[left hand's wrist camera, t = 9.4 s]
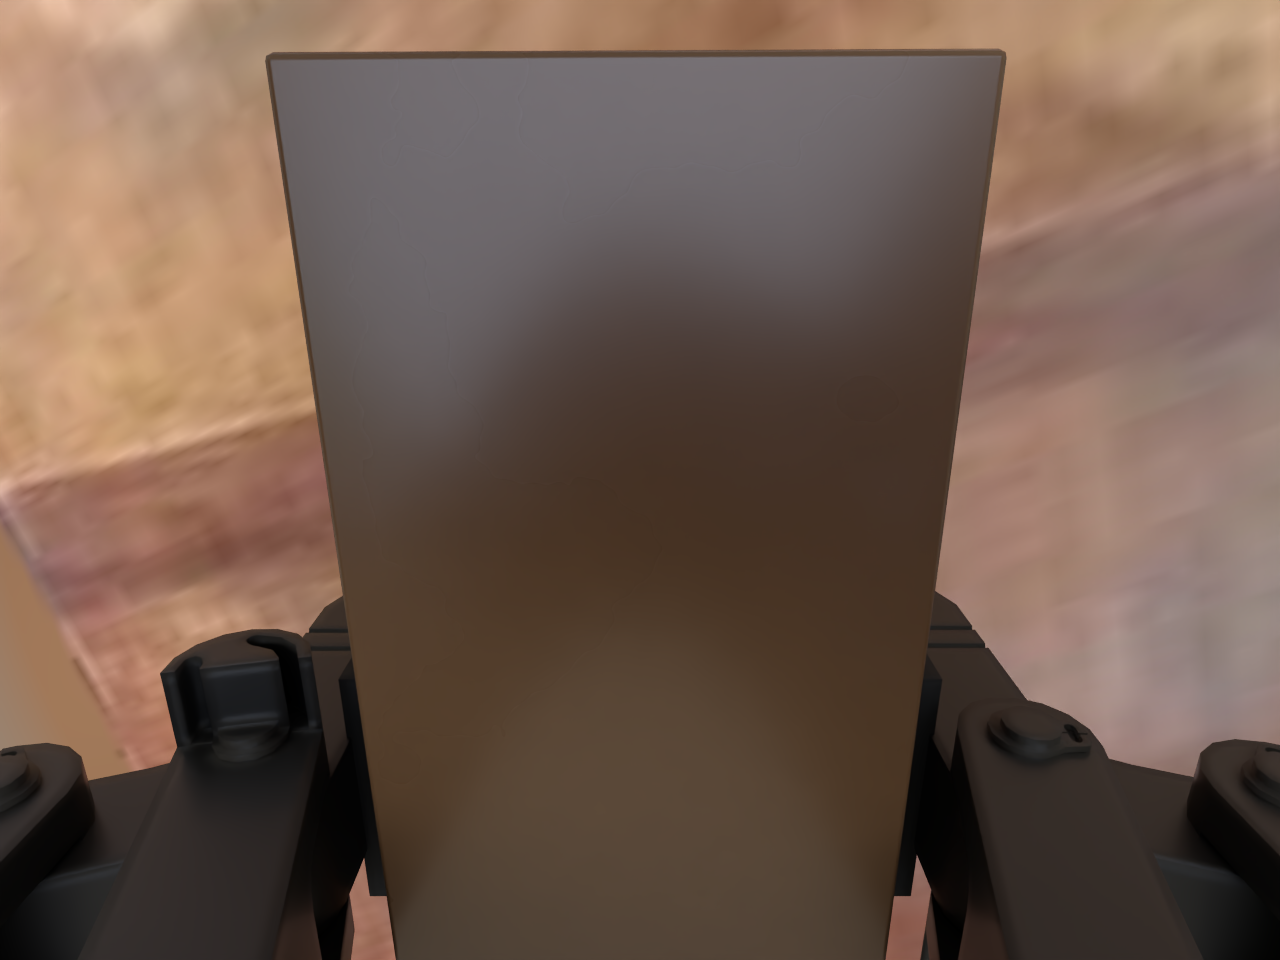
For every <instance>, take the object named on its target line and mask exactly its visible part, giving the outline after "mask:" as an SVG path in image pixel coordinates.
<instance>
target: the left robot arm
mask: <svg viewBox="0 0 1280 960" xmlns="http://www.w3.org/2000/svg"><path fill="white" fill-rule="evenodd" d="M160 675H161V679H162V683H163V688H164V692H165V696H166V701H167V705H168V709H169V714H170V718H171V722H172V726H173V731H174V735H175V739H176V744H177V749H176V751H175V753H174V755H173V758H172V760H171V762H170V763H168V764H164V765H160V766H156V767H153V768H149V769H144V770H139V771H134V772H129V773H124V774H119V775H114V776H109V777H104V778H99V779H94V780H89V781H88V779H87V775H86V772H85V768H84V764H83V761H82V757H81V756H80V755H79V754H77V753H76V752H75V751H74V750H73V749H71V748H70V747H68V746H62V745H56V744H50V743H42V744H32V745H22V746H14V747H9V748H5V749H2V750H1V751H0V960H351V954H352V946H353V937H354V922H353V915H352V908H351V902H350V895H349V893H350V891H351V889H352V886H353V884H354V881H355V879H356V876H357V874H358V871H359V869H360V866H361V864H362V861H363V859H365V866H366V872H367V879H368V886H369V893H370V896H387V894H386V888H385V881H384V874H383V867H382V860H381V853H380V846H379V839H378V832H377V826H376V819H375V812H374V805H373V798H372V791H371V784H370V777H369V771H368V764H367V757H366V750H365V743H364V736H363V729H362V722H361V716H360V709H359V702H358V695H357V688H356V681H355V674H354V667H353V660H352V654H351V647H350V640H349V633H348V626H347V619H346V612H345V605H344V599H343V596H342V597H340V598H339V599H337V600H336V601H334V602H332V603H331V604H329V605H328V606H326V607H325V608H324V609H323V611H322V612H321V613H320V615H319V616H318V617H317V619H316V620H315V621H314V623H313V624H312V626H311V627H310V628H309V633H306V634H305V635H304V636H303V638H302V637H301V636H300V635H299V634H296V633H292V632H288V631H283V630H279V629H252V630H247V631H241V632H236V633H231V634H226V635H222V636H219V637H217V638H214V639H211V640H208V641H206V642H203V643H200V644H197V645H195V646H194V647H192V648H190V649H189V650H187V651H185V652H184V653H182V654H180V655H179V656H177V657H175V658H174V659H173V660H172V661H171V662H170V663H169V664H168V665H167V666H166V668H165V669H164V670H163V671H162V672H161V673H160ZM916 856H918V858H919V861H920V863H921V865H922V868H923V870H924V873H925V875H926V878H927V880H928V883H929V885H930V888H931V895H930V902H929V908H928V914H927V921H926V927H925V933H924V940H923V946H922V952H921V959H920V960H1280V745H1276V744H1271V743H1267V742H1257V741H1247V740H1237V739H1234V740H1228V741H1222V742H1215V743H1212V744H1211V745H1210V746H1208V747H1207V748H1206V749H1205V750H1204V751H1202V752H1201V753H1200V757H1199V760H1198V764H1197V767H1196V771H1195V774H1194V777H1190V776H1185V775H1180V774H1175V773H1170V772H1165V771H1160V770H1155V769H1150V768H1145V767H1140V766H1135V765H1131V764H1127V763H1123V762H1119V761H1116V760H1112V759H1109V758H1108V756H1107V754H1106V752H1105V750H1104V748H1103V746H1102V745H1101V743H1100V742H1099V741H1098V739H1097V738H1096V737H1095V736H1094V734H1093V733H1092V732H1091V731H1090V729H1088V728H1087V727H1085V726H1084V725H1083V724H1081V723H1080V722H1078V721H1077V720H1075V719H1074V718H1072V717H1071V716H1070V715H1068V714H1066V713H1063V712H1061V711H1059V710H1056V709H1054V708H1051V707H1049V706H1047V705H1044V704H1042V703H1037V702H1033V701H1028V700H1027V699H1026V698H1025V697H1024V695H1023V694H1022V693H1021V691H1020V690H1019V689H1018V687H1017V686H1016V685H1015V683H1014V682H1013V681H1012V679H1011V678H1010V677H1009V675H1008V674H1007V673H1006V671H1005V670H1004V668H1003V667H1002V666H1001V664H1000V663H999V662H998V660H997V659H996V658H995V656H994V655H993V654H992V652H991V651H990V650H989V648H985V643H984V641H983V640H982V639H981V637H980V636H979V635H978V633H977V632H976V631H975V630H972V625H971V624H970V623H969V621H968V620H967V619H966V617H965V616H964V614H963V613H962V612H961V610H960V609H959V608H958V606H957V605H956V604H954V603H953V602H951V601H950V600H948V599H947V598H945V597H943V596H942V595H940V594H939V593H937V592H936V591H935V594H934V601H933V609H932V616H931V624H930V631H929V639H928V646H927V653H926V661H925V668H924V676H923V683H922V691H921V698H920V706H919V713H918V721H917V728H916V735H915V743H914V750H913V758H912V765H911V773H910V780H909V788H908V795H907V802H906V810H905V817H904V825H903V832H902V840H901V847H900V855H899V862H898V869H897V877H896V884H895V892H894V896H911V890H912V883H913V877H914V870H915V863H916Z"/></svg>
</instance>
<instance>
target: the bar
mask: <svg viewBox="0 0 1280 960" xmlns="http://www.w3.org/2000/svg"><path fill="white" fill-rule="evenodd" d="M1005 65H1006V52H1004V51H1002V50H1000V49H850V50H644V51H438V52H273V53H271V54H269V55H267V56H266V69H267V76H268V82H269V89H270V96H271V103H272V110H273V117H274V124H275V131H276V137H277V144H278V151H279V158H280V165H281V172H282V179H283V186H284V193H285V199H286V206H287V213H288V220H289V227H290V234H291V241H292V248H293V254H294V261H295V268H296V275H297V282H298V289H299V296H300V303H301V309H302V316H303V323H304V330H305V337H306V344H307V351H308V358H309V365H310V371H311V378H312V385H313V392H314V399H315V406H316V413H317V420H318V426H319V433H320V440H321V447H322V454H323V461H324V468H325V475H326V482H327V488H328V495H329V502H330V509H331V516H332V523H333V530H334V537H335V543H336V550H337V557H338V564H339V571H340V578H341V585H342V592H343V599H344V605H345V612H346V619H347V626H348V633H349V640H350V647H351V654H352V660H353V667H354V674H355V681H356V688H357V695H358V702H359V709H360V716H361V722H362V729H363V736H364V743H365V750H366V757H367V764H368V771H369V777H370V784H371V791H372V798H373V805H374V812H375V819H376V826H377V832H378V839H379V846H380V853H381V860H382V867H383V874H384V881H385V888H386V894H387V901H388V908H389V915H390V922H391V929H392V936H393V943H394V949H395V956H396V960H885V959H886V951H887V944H888V937H889V929H890V922H891V914H892V907H893V899H894V892H895V884H896V877H897V869H898V862H899V855H900V847H901V840H902V832H903V825H904V817H905V810H906V802H907V795H908V788H909V780H910V773H911V765H912V758H913V750H914V743H915V735H916V728H917V721H918V713H919V706H920V698H921V691H922V683H923V676H924V668H925V661H926V653H927V646H928V639H929V631H930V624H931V616H932V609H933V601H934V594H935V586H936V579H937V572H938V564H939V557H940V549H941V542H942V534H943V527H944V519H945V512H946V505H947V497H948V490H949V482H950V475H951V467H952V460H953V452H954V445H955V437H956V430H957V423H958V415H959V408H960V400H961V393H962V385H963V378H964V370H965V363H966V356H967V348H968V341H969V333H970V326H971V318H972V311H973V303H974V296H975V289H976V281H977V274H978V266H979V259H980V251H981V244H982V236H983V229H984V221H985V214H986V207H987V199H988V192H989V184H990V177H991V169H992V162H993V154H994V147H995V140H996V132H997V125H998V117H999V110H1000V102H1001V95H1002V87H1003V80H1004V73H1005Z"/></svg>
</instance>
